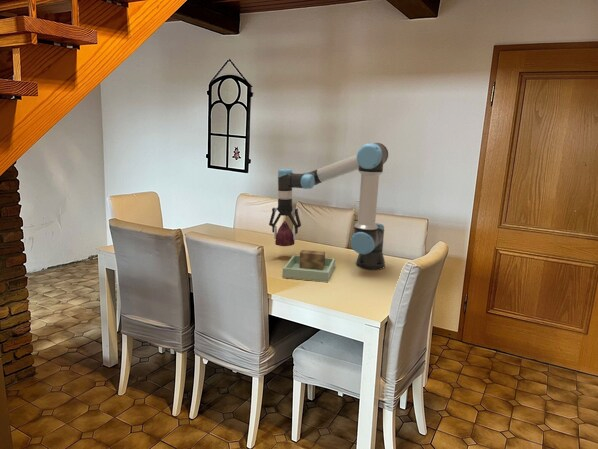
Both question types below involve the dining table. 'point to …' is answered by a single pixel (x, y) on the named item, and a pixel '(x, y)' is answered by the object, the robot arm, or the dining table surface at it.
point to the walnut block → (312, 259)
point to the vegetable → (284, 236)
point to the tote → (308, 270)
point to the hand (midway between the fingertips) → (285, 238)
